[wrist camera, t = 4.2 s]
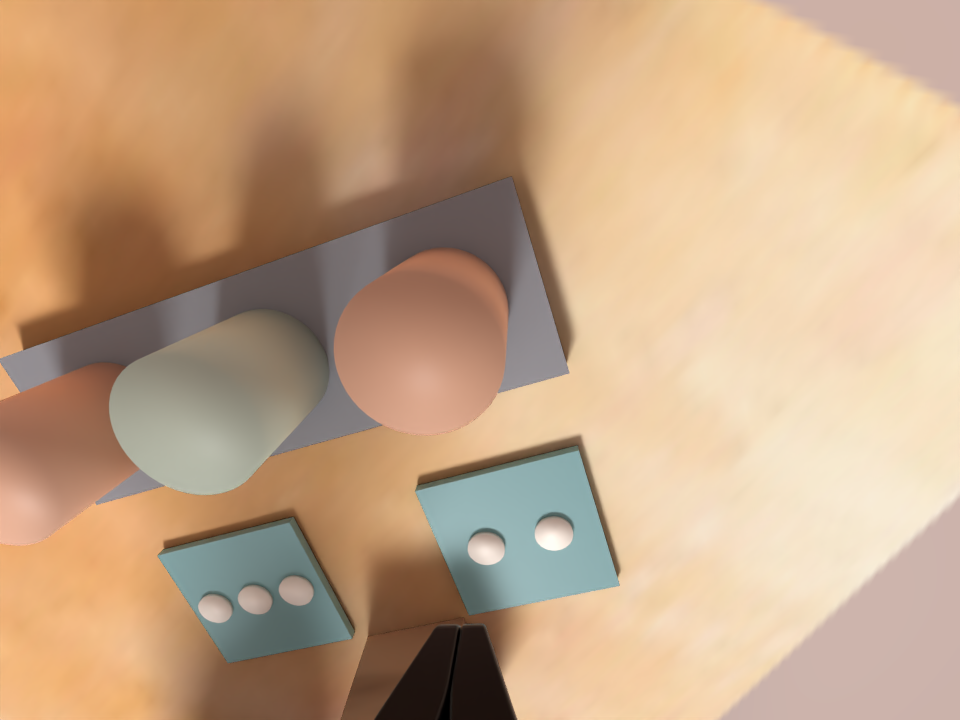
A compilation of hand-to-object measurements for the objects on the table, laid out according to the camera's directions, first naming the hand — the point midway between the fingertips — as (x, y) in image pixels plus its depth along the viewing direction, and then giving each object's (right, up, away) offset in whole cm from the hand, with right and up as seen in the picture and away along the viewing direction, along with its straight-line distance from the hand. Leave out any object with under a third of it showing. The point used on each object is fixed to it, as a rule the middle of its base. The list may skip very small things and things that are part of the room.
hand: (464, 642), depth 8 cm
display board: (-8, +5, +11) cm, 14 cm away
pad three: (-10, -6, +15) cm, 19 cm away
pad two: (+2, -3, +13) cm, 13 cm away
